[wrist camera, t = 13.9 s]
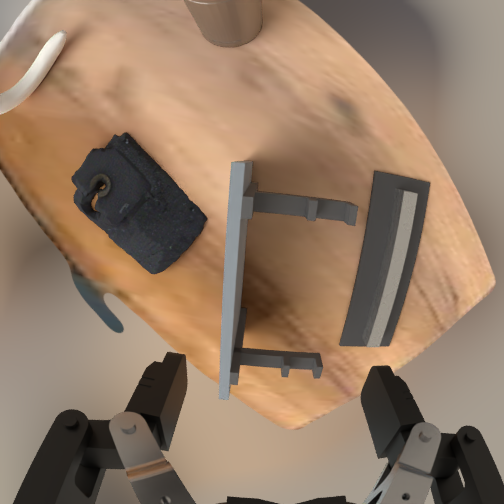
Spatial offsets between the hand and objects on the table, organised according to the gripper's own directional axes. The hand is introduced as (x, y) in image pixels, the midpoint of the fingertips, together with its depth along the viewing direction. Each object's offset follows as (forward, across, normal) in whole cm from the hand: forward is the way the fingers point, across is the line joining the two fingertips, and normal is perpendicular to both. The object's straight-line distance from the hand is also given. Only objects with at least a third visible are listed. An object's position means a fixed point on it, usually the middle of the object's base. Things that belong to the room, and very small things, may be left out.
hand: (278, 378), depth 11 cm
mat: (+33, -20, +6) cm, 39 cm away
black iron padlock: (+34, +21, 0) cm, 40 cm away
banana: (+33, +43, -25) cm, 60 cm away
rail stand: (+33, -2, +6) cm, 33 cm away
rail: (+32, -20, +6) cm, 38 cm away
